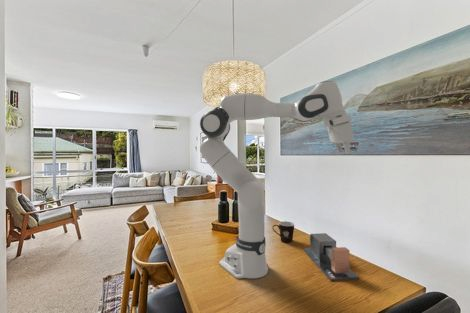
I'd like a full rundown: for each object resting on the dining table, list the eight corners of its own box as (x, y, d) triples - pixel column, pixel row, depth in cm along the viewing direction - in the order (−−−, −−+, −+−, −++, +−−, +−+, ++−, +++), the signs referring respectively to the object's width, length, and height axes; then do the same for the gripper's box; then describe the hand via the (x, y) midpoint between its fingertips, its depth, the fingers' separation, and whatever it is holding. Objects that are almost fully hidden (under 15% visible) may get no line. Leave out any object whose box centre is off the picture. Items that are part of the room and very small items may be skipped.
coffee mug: (297, 240, 130) (297, 223, 130) (289, 245, 124) (289, 227, 124) (279, 235, 138) (279, 219, 138) (271, 239, 132) (271, 222, 132)
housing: (359, 279, 91) (359, 254, 91) (330, 280, 90) (330, 255, 90) (325, 249, 119) (325, 230, 119) (303, 250, 118) (303, 231, 118)
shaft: (349, 272, 93) (349, 250, 93) (335, 272, 92) (335, 250, 92) (328, 253, 110) (328, 235, 110) (316, 254, 109) (316, 235, 109)
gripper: (321, 124, 104) (329, 153, 104) (334, 120, 84) (344, 156, 84) (335, 120, 103) (344, 149, 103) (352, 115, 83) (362, 152, 83)
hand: (344, 152), depth 93 cm, fingers open, 8 cm apart
